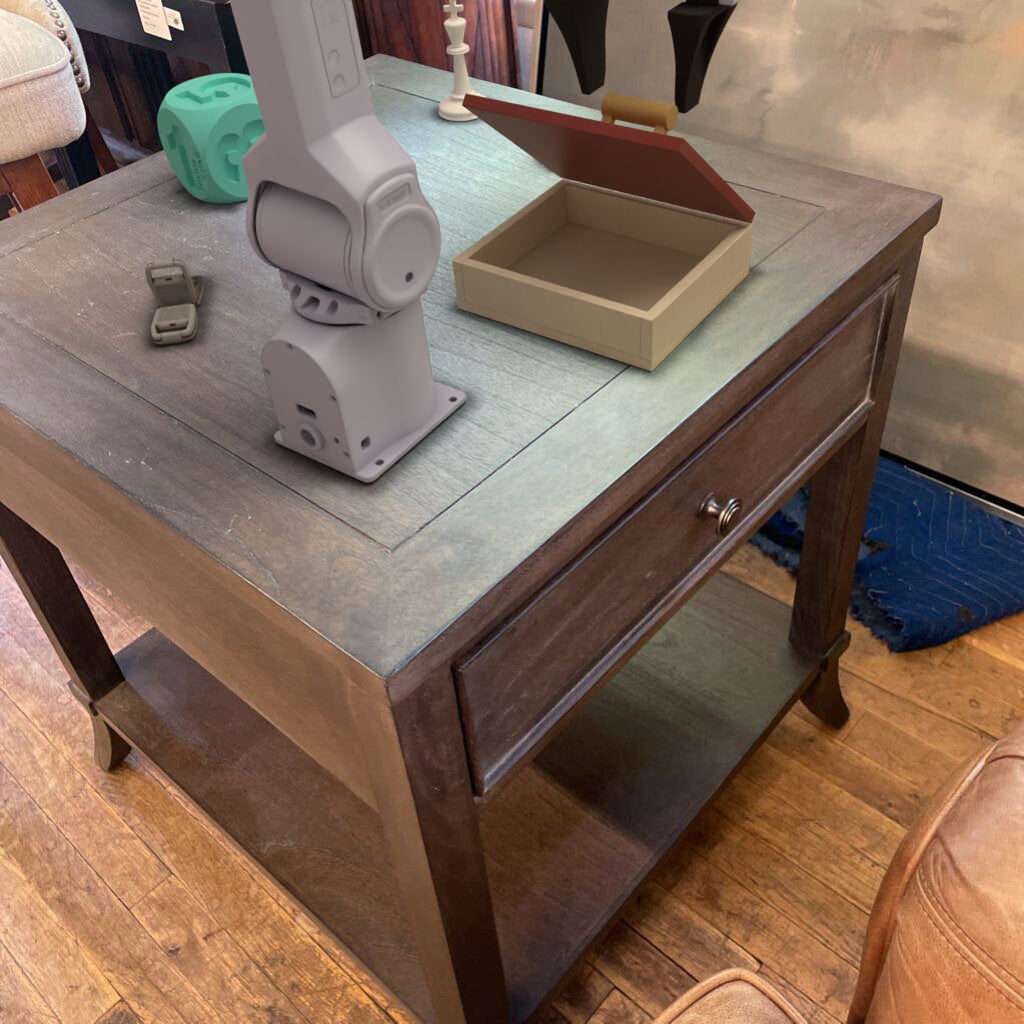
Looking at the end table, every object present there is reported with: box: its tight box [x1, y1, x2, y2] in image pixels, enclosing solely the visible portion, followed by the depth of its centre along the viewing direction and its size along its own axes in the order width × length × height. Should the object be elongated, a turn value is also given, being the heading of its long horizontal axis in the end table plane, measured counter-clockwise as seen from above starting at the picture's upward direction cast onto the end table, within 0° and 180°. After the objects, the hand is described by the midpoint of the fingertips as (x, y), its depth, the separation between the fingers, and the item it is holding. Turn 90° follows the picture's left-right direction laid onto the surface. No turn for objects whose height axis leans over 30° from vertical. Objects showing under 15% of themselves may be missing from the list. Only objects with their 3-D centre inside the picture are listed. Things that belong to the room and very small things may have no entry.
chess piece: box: [438, 0, 488, 122], centre depth 97 cm, size 5×5×10 cm
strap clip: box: [144, 257, 205, 345], centre depth 76 cm, size 8×3×4 cm, turn 7°
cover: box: [462, 92, 756, 224], centre depth 70 cm, size 14×16×5 cm
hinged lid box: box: [451, 178, 754, 372], centre depth 74 cm, size 14×16×4 cm
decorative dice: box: [156, 72, 265, 204], centre depth 90 cm, size 8×8×8 cm
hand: (639, 98), depth 75 cm, fingers open, 7 cm apart
